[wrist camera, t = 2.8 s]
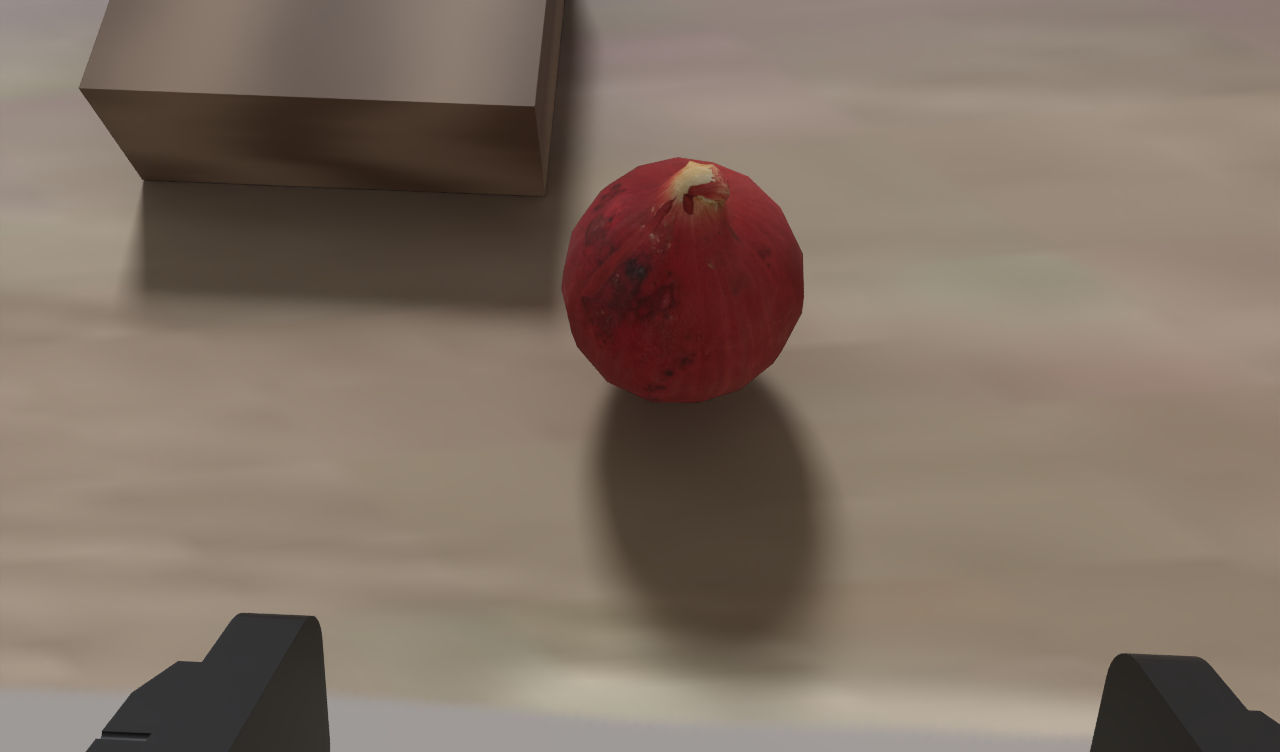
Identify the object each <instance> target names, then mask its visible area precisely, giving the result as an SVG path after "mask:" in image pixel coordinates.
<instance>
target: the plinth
mask: <svg viewBox="0 0 1280 752" xmlns="http://www.w3.org/2000/svg"><path fill="white" fill-rule="evenodd" d="M564 1H565V0H110V1H109V4H108V7H107V9H106V12H105V15H104V18H103V21H102V24H101V27H100V29H99V32H98V35H97V38H96V41H95V44H94V46H93V49H92V52H91V55H90V58H89V61H88V64H87V66H86V69H85V72H84V75H83V78H82V81H81V83H80V86H79V89H80V91H81V92H82V93H83V95H84V96H85V98H86V99H87V101H88V102H89V103H90V105H91V106H92V108H93V109H94V111H95V112H96V114H97V115H98V116H99V118H100V119H101V121H102V122H103V124H104V125H105V126H106V128H107V129H108V131H109V132H110V134H111V135H112V137H113V138H114V139H115V141H116V142H117V144H118V145H119V147H120V148H121V150H122V151H123V152H124V154H125V155H126V157H127V158H128V160H129V161H130V162H131V164H132V165H133V167H134V168H135V170H136V171H137V173H138V174H139V175H140V177H141V178H142V180H158V181H182V182H207V183H232V184H256V185H281V186H305V187H330V188H354V189H379V190H403V191H428V192H452V193H477V194H501V195H526V196H546V185H547V175H548V165H549V155H550V144H551V134H552V124H553V113H554V103H555V93H556V83H557V72H558V62H559V52H560V42H561V31H562V21H563V11H564Z"/></svg>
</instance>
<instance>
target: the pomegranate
mask: <svg viewBox="0 0 1280 752" xmlns="http://www.w3.org/2000/svg"><path fill="white" fill-rule="evenodd" d="M561 289H562V293H563V297H564V302H565V306H566V310H567V315H568V319H569V323H570V327H571V332H572V334H573V337H574V340H575V342H576V345H577V347H578V348H579V349H580V351H581V352H582V353H583V354H584V355H585V356H586V358H587V359H588V360H589V361H590V362H591V363H592V365H593V366H594V367H595V368H596V369H597V370H598V372H599V373H600V374H601V375H602V376H603V377H604V379H605V380H606V381H607V382H609V383H611V384H613V385H615V386H617V387H620V388H622V389H624V390H626V391H628V392H631V393H633V394H635V395H637V396H639V397H641V398H644V399H646V400H648V401H650V402H683V403H699V402H702V401H705V400H709V399H712V398H715V397H718V396H721V395H724V394H728V393H731V392H734V391H737V390H740V389H742V388H743V387H744V386H745V385H747V384H748V383H749V382H750V381H752V380H753V379H754V378H755V377H757V376H758V375H759V374H760V373H762V372H763V371H764V370H765V369H767V368H768V367H769V366H770V365H772V364H773V363H774V361H775V360H776V358H777V357H778V356H779V354H780V353H781V351H782V350H783V348H784V346H785V344H786V342H787V340H788V338H789V336H790V334H791V333H792V331H793V329H794V327H795V325H796V323H797V321H798V319H799V317H800V316H801V314H802V308H803V299H804V280H803V253H802V251H801V249H800V247H799V245H798V243H797V241H796V239H795V237H794V235H793V232H792V230H791V228H790V226H789V224H788V222H787V220H786V218H785V216H784V214H783V212H782V210H781V208H780V207H779V206H778V205H777V204H776V203H775V202H774V201H773V200H772V199H771V198H770V197H769V196H768V195H767V194H766V193H765V192H764V191H763V190H762V189H761V188H760V187H759V186H757V185H756V184H755V183H754V182H753V181H752V180H751V179H750V178H749V177H748V176H745V175H743V174H740V173H738V172H735V171H733V170H730V169H728V168H726V167H723V166H721V165H718V164H716V163H713V162H706V161H699V160H693V159H686V158H679V157H677V158H672V159H668V160H663V161H659V162H654V163H650V164H645V165H641V166H638V167H636V168H635V169H633V170H632V171H630V172H628V173H627V174H625V175H624V176H622V177H620V178H619V179H617V180H616V181H614V182H612V183H611V184H609V185H608V186H607V187H605V188H604V189H603V190H602V191H600V193H599V194H598V196H597V197H596V198H595V200H594V201H593V202H592V204H591V205H590V207H589V208H588V209H587V211H586V212H585V213H584V215H583V216H582V218H581V219H580V220H579V222H578V224H577V225H576V227H575V228H574V230H573V231H572V234H571V239H570V244H569V248H568V253H567V257H566V262H565V266H564V271H563V279H562V288H561Z"/></svg>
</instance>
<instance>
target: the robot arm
mask: <svg viewBox="0 0 1280 752" xmlns="http://www.w3.org/2000/svg"><path fill="white" fill-rule="evenodd" d="M327 709H328V708H327V695H326V681H325V668H324V654H323V641H322V632H321V627H320V624H319V621H318V620H317V618H316V617H315V616H303V615H280V614H257V613H240V614H238V615H236V616H235V617H234V618H233V619H232V620H231V622H230V623H229V625H228V626H227V627H226V629H225V630H224V632H223V633H222V634H221V636H220V637H219V639H218V640H217V641H216V643H215V644H214V646H213V647H212V649H211V650H210V651H209V653H208V654H207V656H206V657H205V658H204V660H203V661H202V662H187V661H178V662H176V663H175V664H173V665H172V666H170V667H169V668H167V669H166V670H164V671H163V672H161V673H160V674H159V675H157V676H156V677H154V678H153V679H151V680H150V681H148V682H147V683H145V684H144V685H142V686H141V687H139V688H138V689H137V690H135V691H134V692H132V693H131V694H130V696H129V697H128V698H127V700H126V701H125V702H124V703H123V705H122V706H121V707H120V709H119V710H118V711H117V712H116V714H115V715H114V716H113V718H112V719H111V720H110V721H109V723H108V724H107V725H106V727H105V728H104V729H103V730H102V736H101V739H95V741H94V742H93V743H92V745H91V746H90V747H89V748H88V750H87V751H86V752H330V736H329V722H328V710H327ZM1090 752H1280V724H1278V723H1277V722H1276V721H1274V720H1273V719H1271V718H1270V717H1268V716H1267V715H1265V714H1264V713H1263V712H1261V711H1249V710H1247V709H1246V707H1245V706H1244V705H1243V704H1242V703H1241V701H1240V700H1239V699H1238V698H1237V697H1236V695H1235V694H1234V693H1233V692H1232V691H1231V689H1230V688H1229V687H1228V686H1227V685H1226V683H1225V682H1224V681H1223V680H1222V679H1221V678H1220V676H1219V675H1218V674H1217V673H1216V672H1215V670H1214V669H1213V668H1212V667H1211V666H1210V665H1209V664H1208V663H1207V662H1206V661H1205V660H1203V659H1202V658H1199V657H1195V656H1172V655H1149V654H1127V653H1124V654H1119V655H1117V656H1116V657H1115V658H1114V659H1113V661H1112V662H1111V664H1110V667H1109V669H1108V673H1107V676H1106V681H1105V686H1104V690H1103V695H1102V699H1101V704H1100V708H1099V713H1098V718H1097V722H1096V727H1095V731H1094V736H1093V740H1092V745H1091V750H1090Z"/></svg>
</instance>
